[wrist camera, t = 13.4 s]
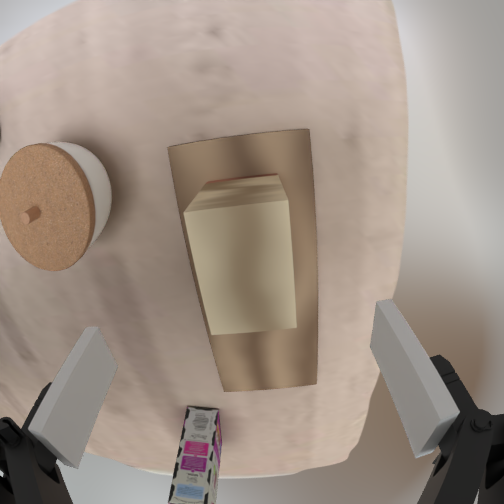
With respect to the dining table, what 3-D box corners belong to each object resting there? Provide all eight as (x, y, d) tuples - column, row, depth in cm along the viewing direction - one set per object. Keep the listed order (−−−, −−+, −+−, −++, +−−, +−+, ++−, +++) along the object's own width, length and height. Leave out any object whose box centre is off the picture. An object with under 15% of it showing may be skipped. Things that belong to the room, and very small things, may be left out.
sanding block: (223, 274, 29) (211, 335, 21) (207, 181, 25) (183, 212, 17) (285, 267, 29) (296, 327, 20) (277, 173, 25) (288, 200, 17)
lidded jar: (55, 239, 29) (5, 280, 20) (38, 145, 24) (-24, 163, 16) (136, 234, 28) (94, 282, 20) (122, 125, 24) (65, 133, 15)
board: (224, 387, 37) (224, 391, 36) (169, 146, 25) (167, 147, 24) (315, 379, 36) (316, 384, 36) (307, 129, 24) (309, 129, 23)
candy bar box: (185, 404, 39) (166, 503, 24) (218, 407, 39) (208, 509, 24) (193, 440, 44) (181, 522, 29) (222, 442, 44) (215, 526, 29)
